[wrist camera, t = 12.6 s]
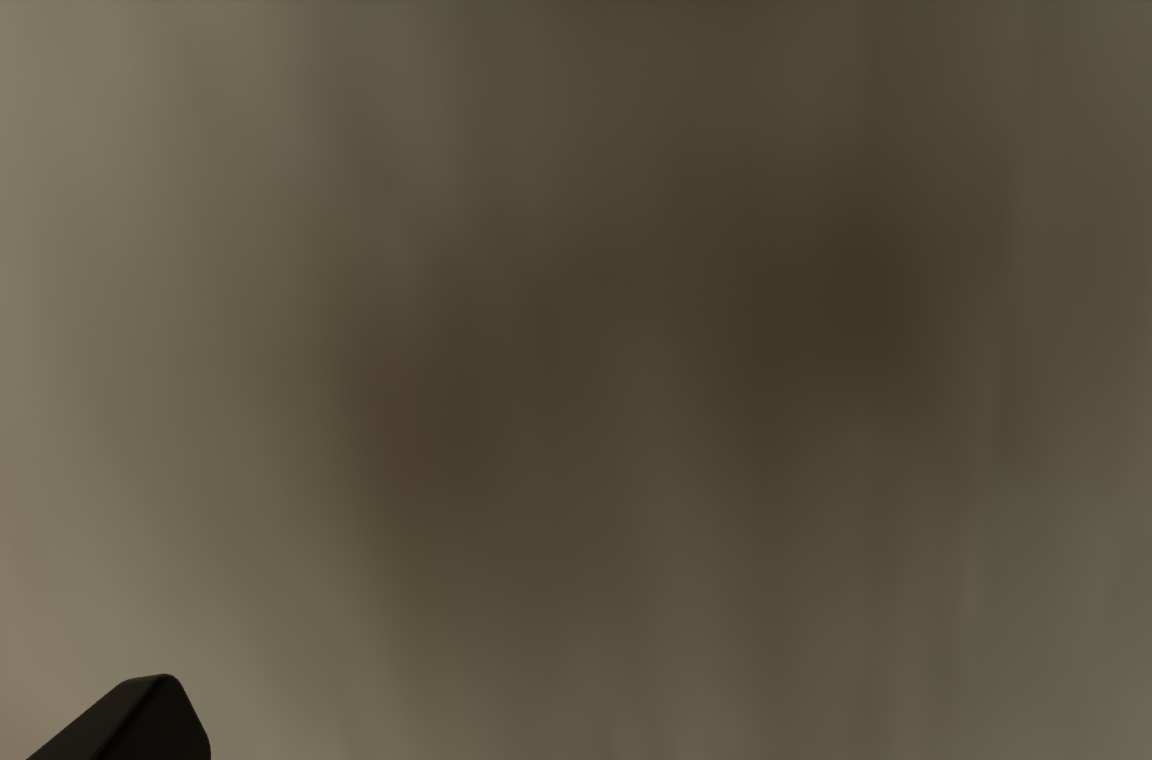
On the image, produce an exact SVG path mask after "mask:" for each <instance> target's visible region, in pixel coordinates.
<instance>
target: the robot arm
mask: <svg viewBox="0 0 1152 760" xmlns="http://www.w3.org/2000/svg"><path fill="white" fill-rule="evenodd" d="M26 760H211V749H210V743H209V739H208V737H207V734H206V732H205V730H204V728H203V726H202V724H201V722H200V720H199V718H198V716H197V714H196V712H195V710H194V708H193V706H192V704H191V702H190V700H189V698H188V696H187V694H186V692H185V691H184V689H183V687H182V685H181V683H180V682H179V680H178V679H176V678H175V677H174V676H172V675H170V674H157V675H151V676H144V677H138V678H132V679H128V680H125V681H123V682H121V683H120V684H118V685H117V686H116V687H114V688H113V689H112V690H111V691H110V692H108V693H107V694H106V695H105V696H103V697H102V698H101V699H100V700H99V701H97V702H96V703H95V704H94V705H92V706H91V707H90V708H89V709H88V710H86V711H85V712H84V713H83V714H81V715H80V716H79V717H78V718H76V719H75V720H74V721H73V722H72V723H70V724H69V725H68V726H67V727H65V728H64V729H63V730H62V731H61V732H59V733H58V734H57V735H56V736H54V737H53V738H52V739H51V740H49V741H48V742H47V743H46V744H45V745H43V746H42V747H41V748H40V749H38V750H37V751H36V752H35V753H34V754H32V755H31V756H30V757H29V758H27V759H26Z"/></svg>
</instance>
